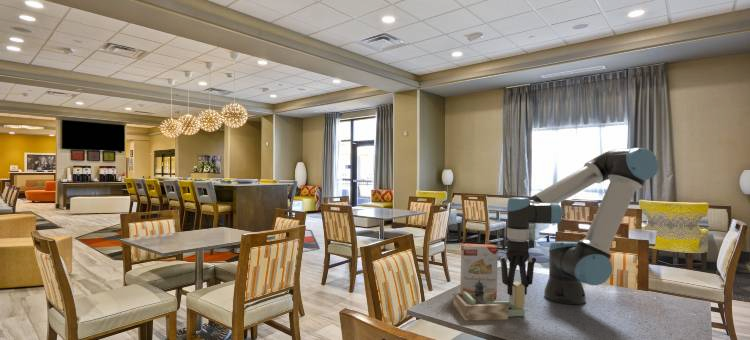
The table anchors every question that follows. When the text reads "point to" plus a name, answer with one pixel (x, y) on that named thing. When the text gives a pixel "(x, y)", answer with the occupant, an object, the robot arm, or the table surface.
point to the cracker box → (479, 267)
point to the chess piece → (479, 293)
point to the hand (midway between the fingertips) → (516, 303)
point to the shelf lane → (480, 308)
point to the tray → (516, 308)
